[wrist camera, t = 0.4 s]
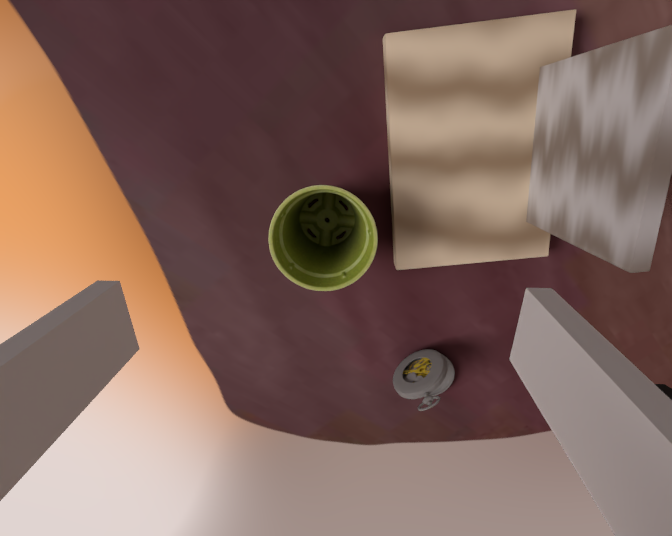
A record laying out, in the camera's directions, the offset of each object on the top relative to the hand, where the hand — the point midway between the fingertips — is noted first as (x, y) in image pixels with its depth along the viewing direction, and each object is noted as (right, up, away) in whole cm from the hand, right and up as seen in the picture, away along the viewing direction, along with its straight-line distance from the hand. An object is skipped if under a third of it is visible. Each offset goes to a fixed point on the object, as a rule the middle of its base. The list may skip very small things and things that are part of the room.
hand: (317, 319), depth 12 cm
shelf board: (+14, +13, +24) cm, 31 cm away
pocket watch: (+12, -10, +34) cm, 37 cm away
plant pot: (0, +7, +27) cm, 28 cm away
